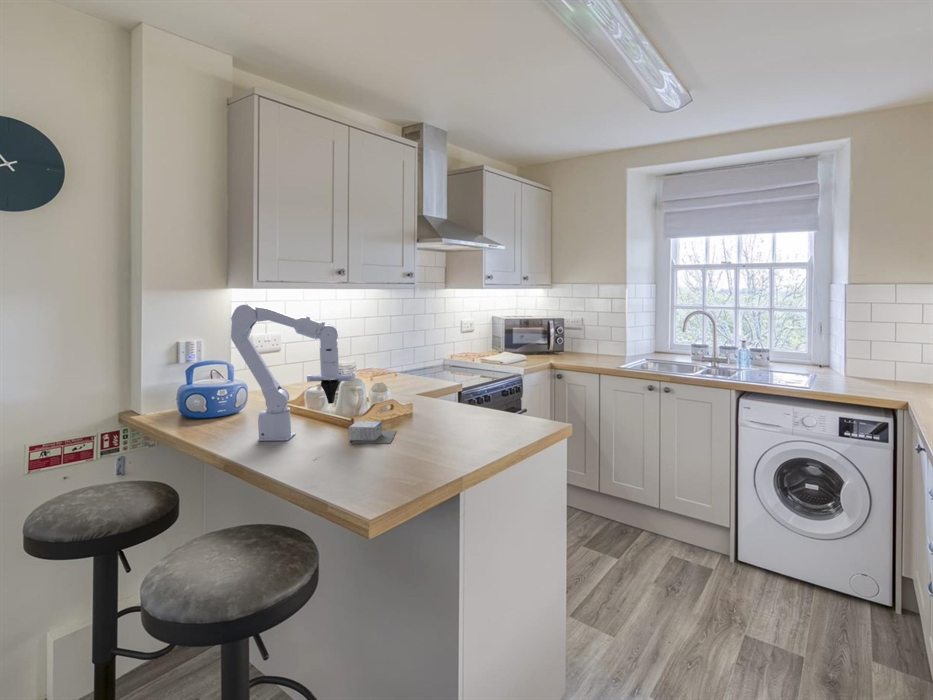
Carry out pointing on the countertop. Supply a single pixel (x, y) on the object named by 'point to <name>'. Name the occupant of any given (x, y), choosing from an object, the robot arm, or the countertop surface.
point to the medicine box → (365, 430)
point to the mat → (379, 439)
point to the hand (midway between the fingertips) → (331, 402)
